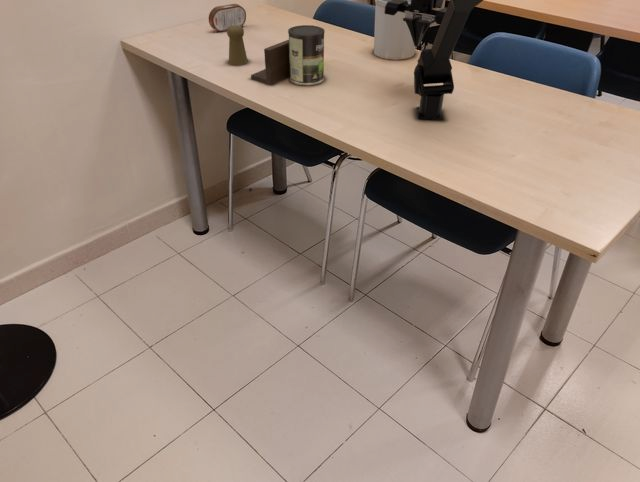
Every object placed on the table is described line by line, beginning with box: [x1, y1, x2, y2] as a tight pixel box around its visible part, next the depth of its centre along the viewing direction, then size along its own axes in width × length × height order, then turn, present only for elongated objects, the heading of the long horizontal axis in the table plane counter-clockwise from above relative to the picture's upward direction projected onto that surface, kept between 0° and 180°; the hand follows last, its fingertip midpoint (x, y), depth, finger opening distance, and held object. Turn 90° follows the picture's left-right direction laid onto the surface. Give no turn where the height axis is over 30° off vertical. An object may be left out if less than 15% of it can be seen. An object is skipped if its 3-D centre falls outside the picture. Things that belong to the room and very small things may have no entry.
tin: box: [208, 3, 247, 32], centre depth 186 cm, size 15×3×8 cm, turn 130°
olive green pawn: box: [226, 25, 249, 66], centre depth 158 cm, size 6×6×11 cm
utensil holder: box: [373, 0, 419, 61], centre depth 163 cm, size 15×15×18 cm
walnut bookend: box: [250, 39, 290, 86], centre depth 151 cm, size 8×20×10 cm, turn 143°
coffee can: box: [287, 24, 326, 86], centre depth 145 cm, size 10×10×14 cm
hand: (416, 46), depth 134 cm, fingers closed
